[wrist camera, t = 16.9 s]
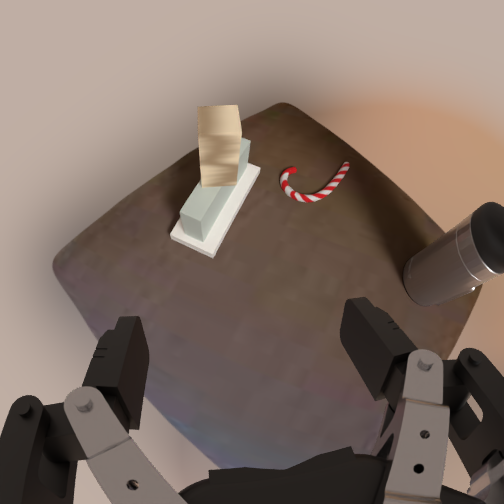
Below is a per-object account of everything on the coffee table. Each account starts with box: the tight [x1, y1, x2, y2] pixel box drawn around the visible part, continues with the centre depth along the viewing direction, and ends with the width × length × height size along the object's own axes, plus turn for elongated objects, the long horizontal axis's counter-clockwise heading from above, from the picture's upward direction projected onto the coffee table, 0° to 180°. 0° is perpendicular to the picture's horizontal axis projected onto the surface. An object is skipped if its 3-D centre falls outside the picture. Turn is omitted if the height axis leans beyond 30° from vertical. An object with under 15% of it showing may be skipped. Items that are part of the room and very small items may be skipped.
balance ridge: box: [170, 138, 260, 258], centre depth 42 cm, size 7×17×8 cm, turn 156°
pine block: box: [198, 105, 242, 188], centre depth 34 cm, size 4×4×10 cm
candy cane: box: [280, 162, 350, 202], centre depth 50 cm, size 8×1×15 cm
